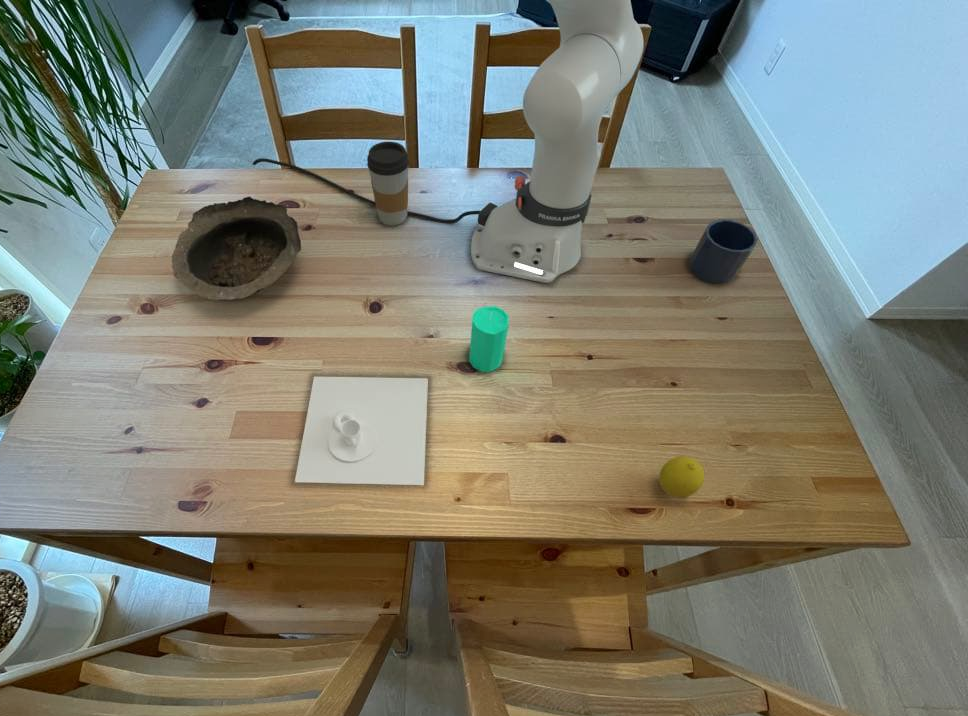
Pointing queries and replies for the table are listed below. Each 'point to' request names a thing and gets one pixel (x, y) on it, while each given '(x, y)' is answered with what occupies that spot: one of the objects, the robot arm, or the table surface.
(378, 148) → the coffee cup
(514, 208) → the robot arm
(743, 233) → the glazed cup
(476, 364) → the candle
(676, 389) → the table surface
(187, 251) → the stone bowl
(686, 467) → the lemon
